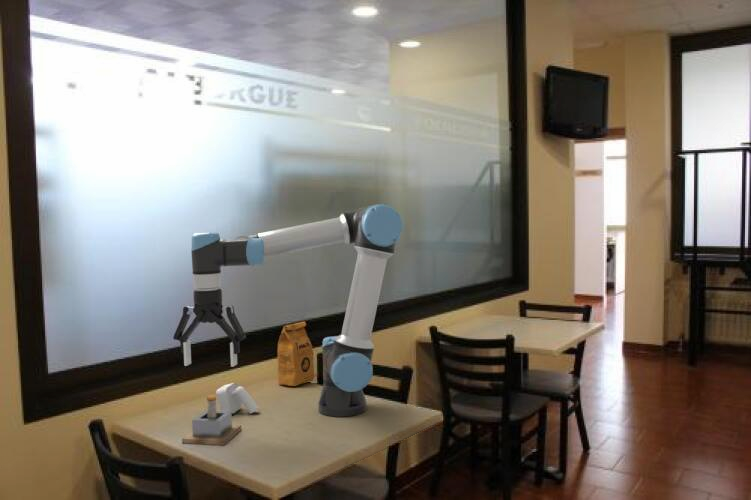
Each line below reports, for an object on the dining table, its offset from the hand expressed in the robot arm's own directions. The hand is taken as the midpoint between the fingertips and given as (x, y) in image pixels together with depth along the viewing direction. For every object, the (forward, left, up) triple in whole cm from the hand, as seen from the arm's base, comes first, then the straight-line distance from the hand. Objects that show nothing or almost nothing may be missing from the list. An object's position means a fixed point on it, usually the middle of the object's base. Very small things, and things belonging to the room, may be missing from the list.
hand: (210, 365), depth 171 cm
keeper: (0, 0, -20) cm, 20 cm away
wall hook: (0, -20, -20) cm, 29 cm away
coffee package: (-8, -54, -20) cm, 58 cm away
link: (0, 0, -19) cm, 19 cm away
